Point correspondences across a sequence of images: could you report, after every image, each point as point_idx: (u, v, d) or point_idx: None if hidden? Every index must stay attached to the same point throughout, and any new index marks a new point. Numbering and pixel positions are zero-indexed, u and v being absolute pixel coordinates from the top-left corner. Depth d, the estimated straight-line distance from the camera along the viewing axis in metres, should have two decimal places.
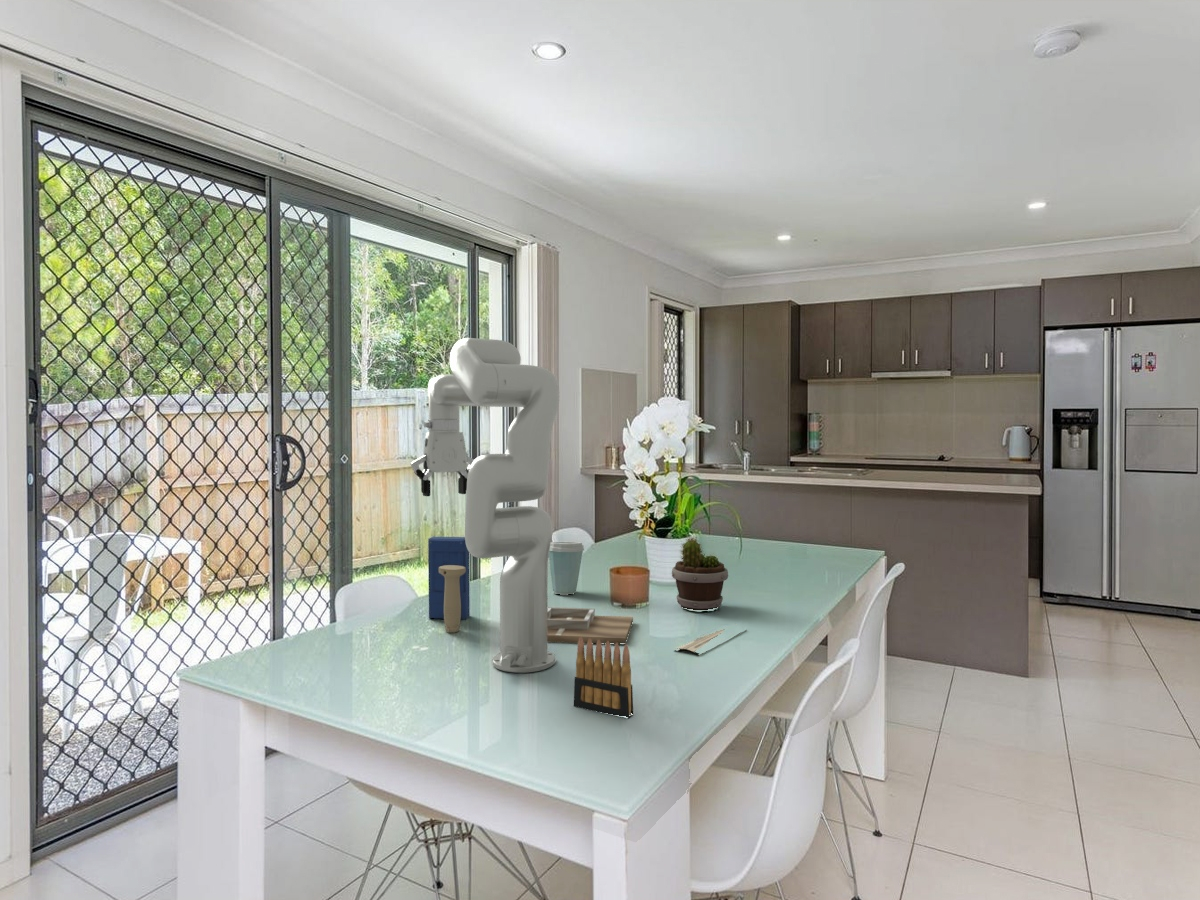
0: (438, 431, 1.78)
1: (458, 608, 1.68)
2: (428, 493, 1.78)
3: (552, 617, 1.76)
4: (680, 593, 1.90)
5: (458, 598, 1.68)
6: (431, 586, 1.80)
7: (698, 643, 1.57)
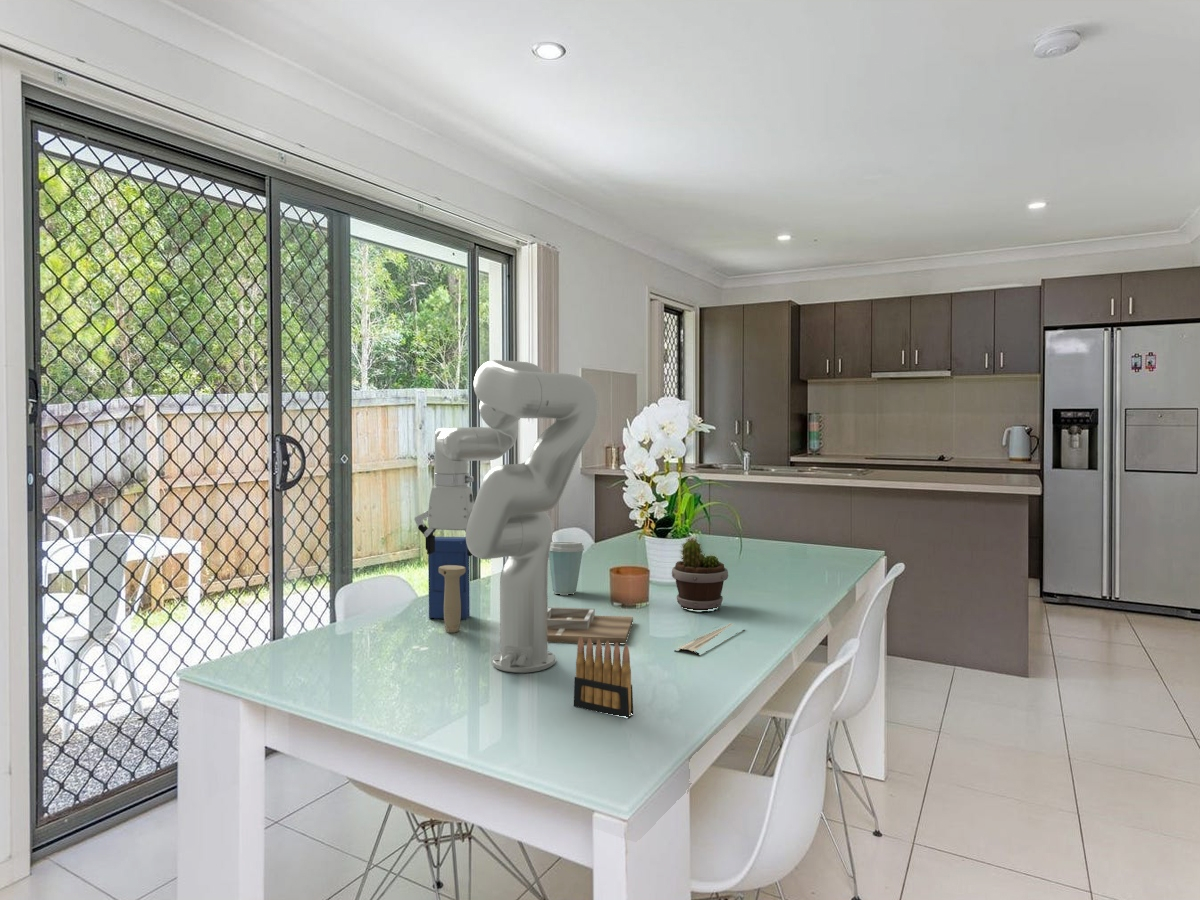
0: None
1: (458, 608, 1.68)
2: None
3: (552, 617, 1.76)
4: (680, 593, 1.90)
5: (458, 598, 1.68)
6: (431, 586, 1.80)
7: (698, 643, 1.57)
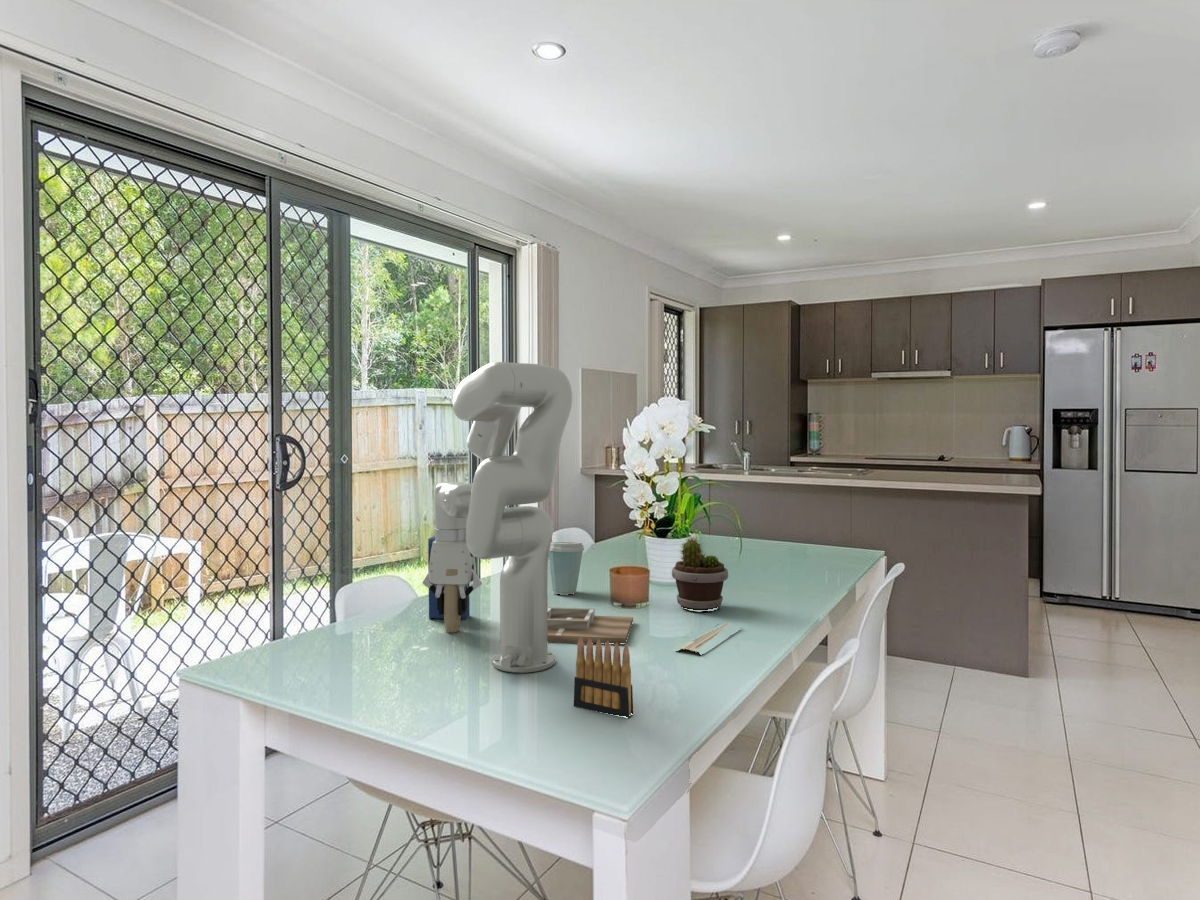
0: None
1: None
2: None
3: (552, 617, 1.76)
4: (680, 593, 1.90)
5: (458, 598, 1.68)
6: None
7: (698, 643, 1.57)
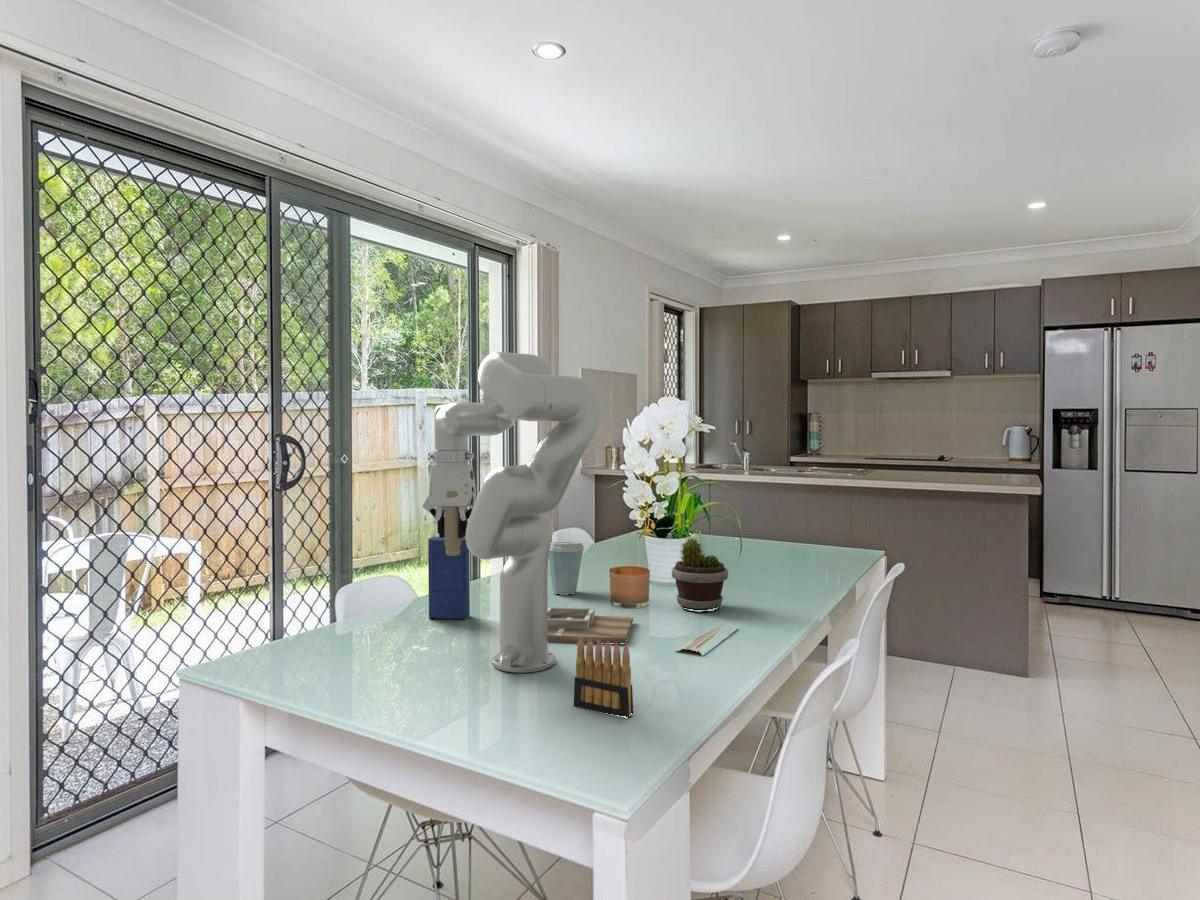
0: None
1: (458, 531, 1.67)
2: None
3: (552, 617, 1.76)
4: (680, 593, 1.90)
5: (458, 521, 1.67)
6: (431, 586, 1.80)
7: (698, 643, 1.57)
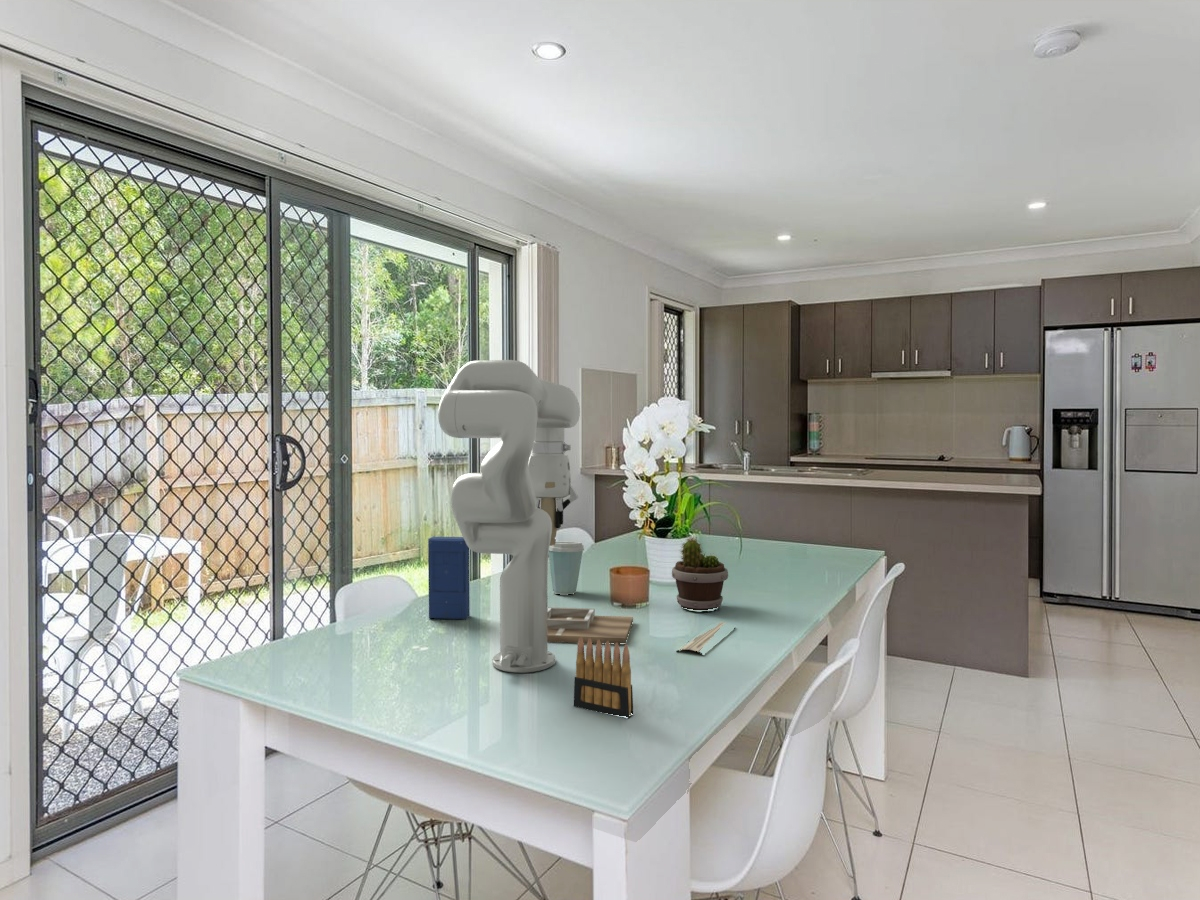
0: None
1: (555, 521, 1.70)
2: None
3: (552, 617, 1.76)
4: (680, 593, 1.90)
5: (555, 511, 1.70)
6: (431, 586, 1.80)
7: (698, 643, 1.57)
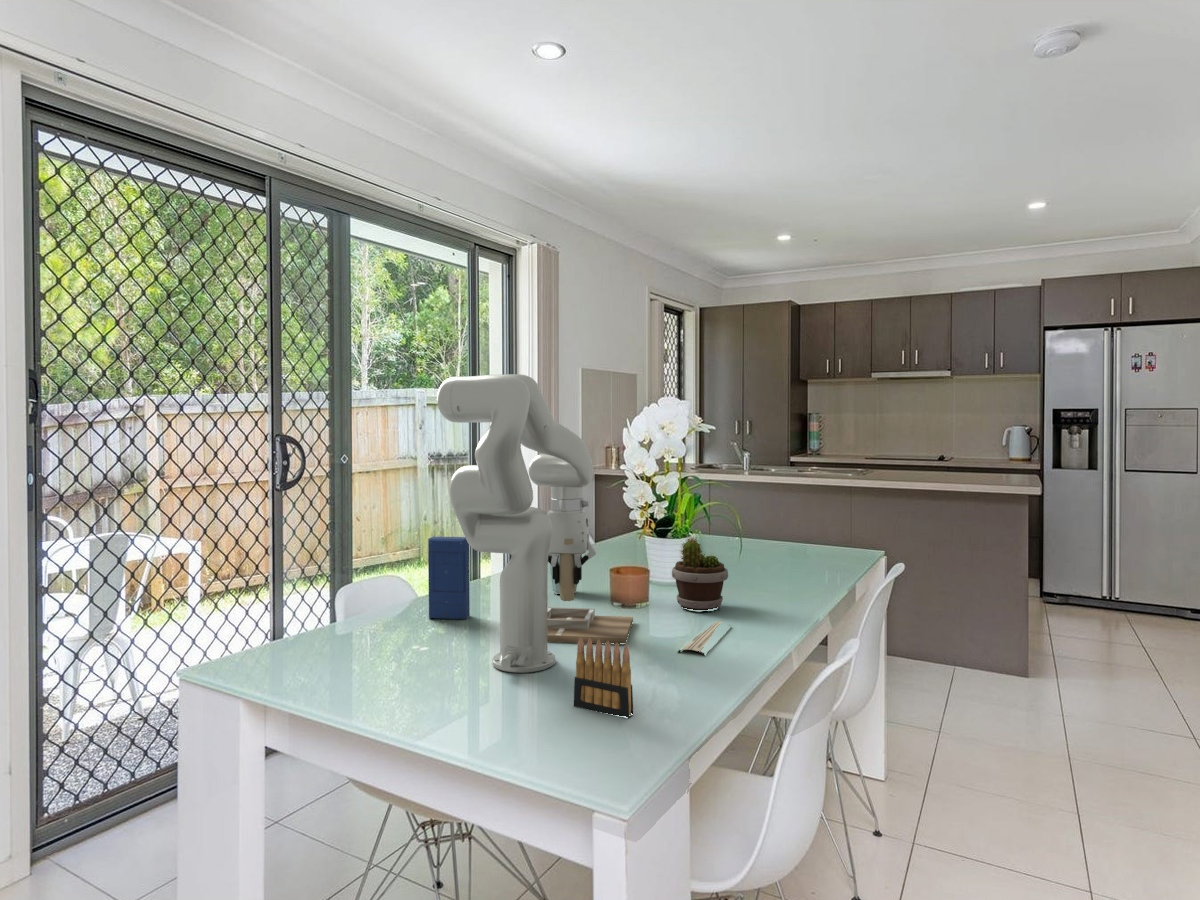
0: None
1: (573, 577, 1.71)
2: None
3: (552, 617, 1.76)
4: (680, 593, 1.90)
5: (573, 567, 1.71)
6: (431, 586, 1.80)
7: (698, 643, 1.57)
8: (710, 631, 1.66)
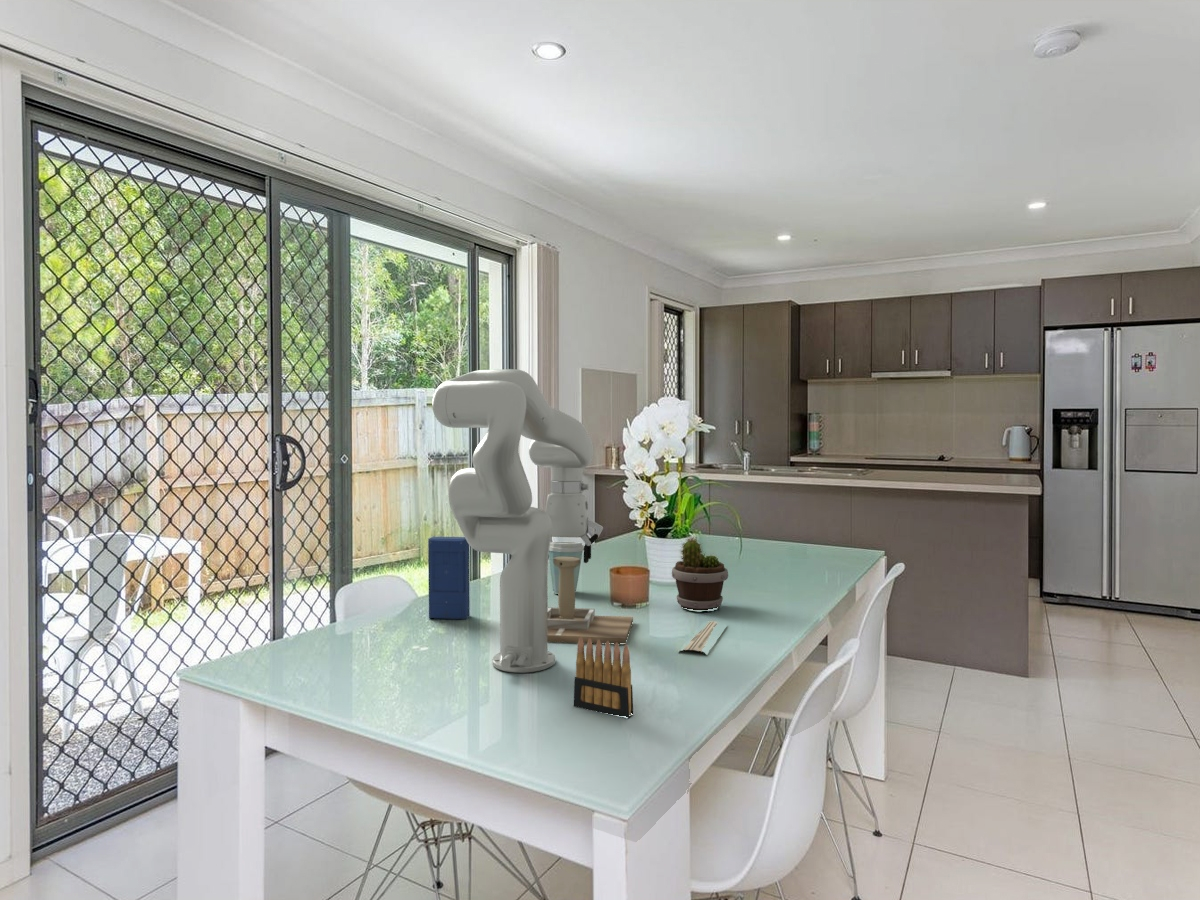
0: None
1: (573, 599, 1.70)
2: None
3: (552, 617, 1.76)
4: (680, 593, 1.90)
5: (573, 589, 1.70)
6: (431, 586, 1.80)
7: (698, 643, 1.57)
8: (708, 631, 1.66)
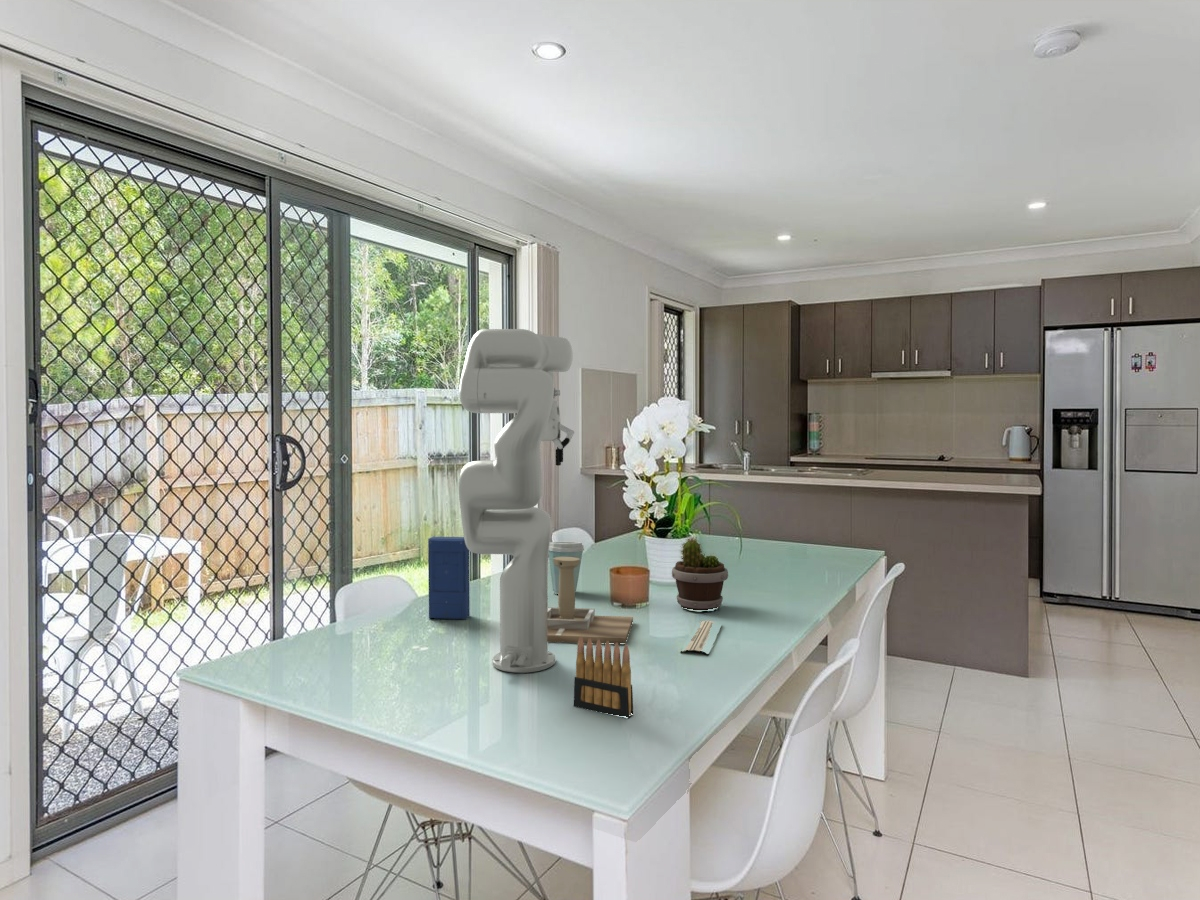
0: None
1: (573, 599, 1.70)
2: None
3: (552, 617, 1.76)
4: (680, 593, 1.90)
5: (573, 589, 1.70)
6: (431, 586, 1.80)
7: (699, 643, 1.57)
8: (705, 630, 1.66)
